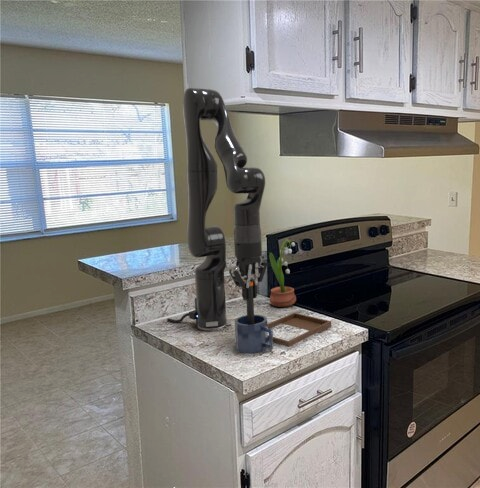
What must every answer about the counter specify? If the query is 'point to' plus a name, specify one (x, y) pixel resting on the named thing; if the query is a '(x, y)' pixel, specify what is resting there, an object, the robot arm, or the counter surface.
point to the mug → (253, 335)
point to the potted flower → (281, 280)
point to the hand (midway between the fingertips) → (249, 298)
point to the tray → (301, 322)
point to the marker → (250, 306)
